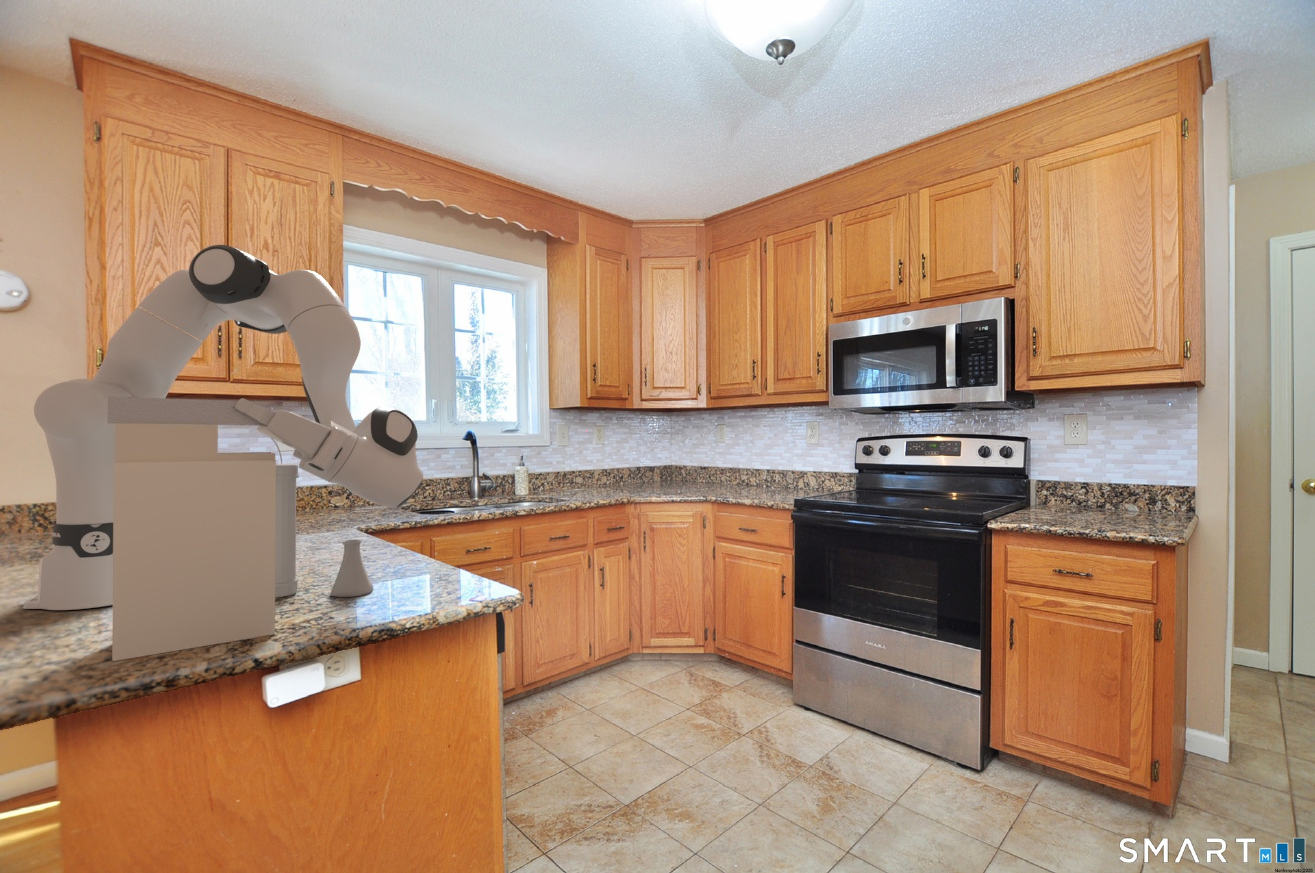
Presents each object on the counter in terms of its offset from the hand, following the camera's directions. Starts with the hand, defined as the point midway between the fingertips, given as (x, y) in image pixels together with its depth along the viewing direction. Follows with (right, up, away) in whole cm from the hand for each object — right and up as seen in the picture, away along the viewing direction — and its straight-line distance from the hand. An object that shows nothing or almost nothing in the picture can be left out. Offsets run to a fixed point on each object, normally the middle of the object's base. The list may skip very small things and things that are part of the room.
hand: (235, 403), depth 91 cm
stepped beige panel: (-4, -34, -3) cm, 35 cm away
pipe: (-7, -35, +21) cm, 41 cm away
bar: (-4, -3, -3) cm, 6 cm away
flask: (+6, -35, +23) cm, 42 cm away
